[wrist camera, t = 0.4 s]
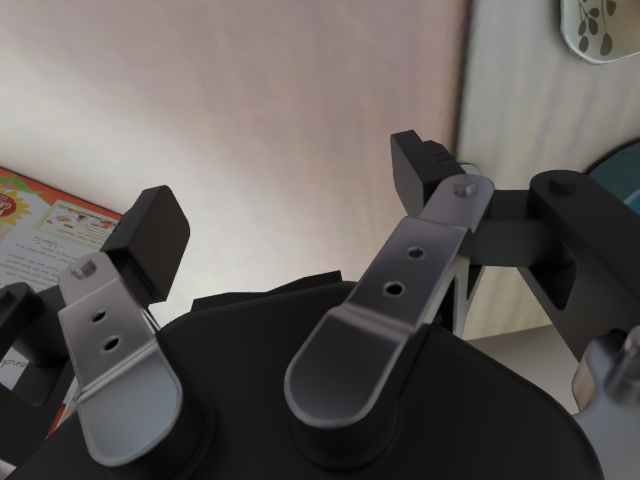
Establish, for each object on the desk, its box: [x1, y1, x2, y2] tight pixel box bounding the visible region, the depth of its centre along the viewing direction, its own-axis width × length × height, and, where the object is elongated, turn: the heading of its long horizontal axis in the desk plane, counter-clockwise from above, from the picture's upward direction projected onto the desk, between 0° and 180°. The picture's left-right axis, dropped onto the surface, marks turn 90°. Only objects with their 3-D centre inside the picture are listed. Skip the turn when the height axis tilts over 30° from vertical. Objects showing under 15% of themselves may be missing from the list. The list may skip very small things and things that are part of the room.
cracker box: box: [0, 168, 122, 438], centre depth 26 cm, size 14×6×21 cm, turn 56°
